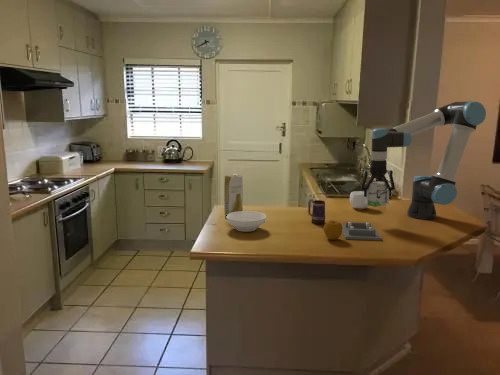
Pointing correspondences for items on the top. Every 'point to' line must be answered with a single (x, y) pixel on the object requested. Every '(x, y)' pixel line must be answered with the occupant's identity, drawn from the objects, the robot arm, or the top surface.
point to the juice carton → (233, 193)
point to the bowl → (246, 220)
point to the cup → (358, 200)
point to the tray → (360, 231)
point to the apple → (333, 230)
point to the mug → (317, 211)
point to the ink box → (377, 194)
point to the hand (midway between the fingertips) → (377, 203)
